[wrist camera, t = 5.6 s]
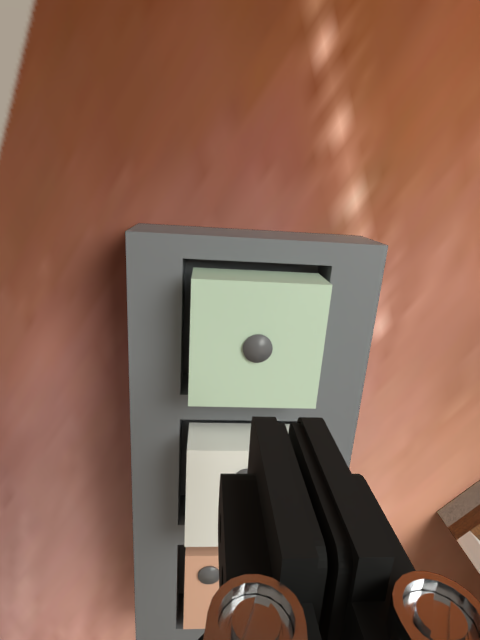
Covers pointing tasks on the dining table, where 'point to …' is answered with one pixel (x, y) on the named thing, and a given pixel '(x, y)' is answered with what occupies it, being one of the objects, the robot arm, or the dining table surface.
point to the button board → (175, 415)
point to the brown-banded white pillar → (465, 522)
